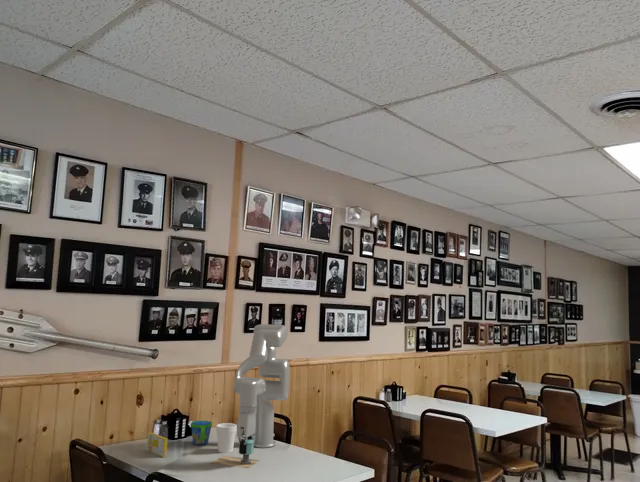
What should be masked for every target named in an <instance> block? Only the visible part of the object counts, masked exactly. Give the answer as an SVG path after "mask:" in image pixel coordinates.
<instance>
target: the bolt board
mask: <svg viewBox="0 0 640 482" xmlns="http://www.w3.org/2000/svg"><path fill="white" fill-rule="evenodd" d="M260 461H261V460H260V459H252V458H250V454H249V455H243V454H242V457H236V456H229V455H228V456H227V455H222V456H220V457H219V458H217V459H215V460H213V461H212V462H210V464H211V465H212V464H214V465H220V466H227V467H237V468H242V469H243V468H244V469H250V468H251V467H252V466H254V465H255V464H257V463H258V462H260Z"/></svg>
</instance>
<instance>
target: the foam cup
mask: <svg viewBox="0 0 640 482" xmlns="http://www.w3.org/2000/svg"><path fill="white" fill-rule="evenodd" d="M237 426H238V424H235V423H233V422H232V423H231V422H229V423H228V422H225V423H218V424H216V427H215V428H216V438H217V450H218V451H217V452H219V453H222V454H225V453H226V454H228V453H231V452H233V450H234V445H235V440H236V439H235V438H236V435H237Z"/></svg>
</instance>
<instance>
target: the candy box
mask: <svg viewBox="0 0 640 482" xmlns="http://www.w3.org/2000/svg"><path fill="white" fill-rule="evenodd" d="M168 440H169V439H168V438H167V437H166V436H165V437H164V436H162V435H159V434H157V433H154V432H152V431H151V432H147V440H146V451H147V452H149V453H152V454H153V455H157V456H158V457H162V458H167V454H168V453H167V451H168Z"/></svg>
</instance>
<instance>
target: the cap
mask: <svg viewBox="0 0 640 482" xmlns="http://www.w3.org/2000/svg"><path fill="white" fill-rule="evenodd" d="M243 439H244V440H245V438H243ZM246 444H247V452H246V454H242V456H243V455H249V456H250V455H253V454H254V448H255V447H254V440H251V439H247V441H246ZM239 445H240V444H239V443H238V446H239Z"/></svg>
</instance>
